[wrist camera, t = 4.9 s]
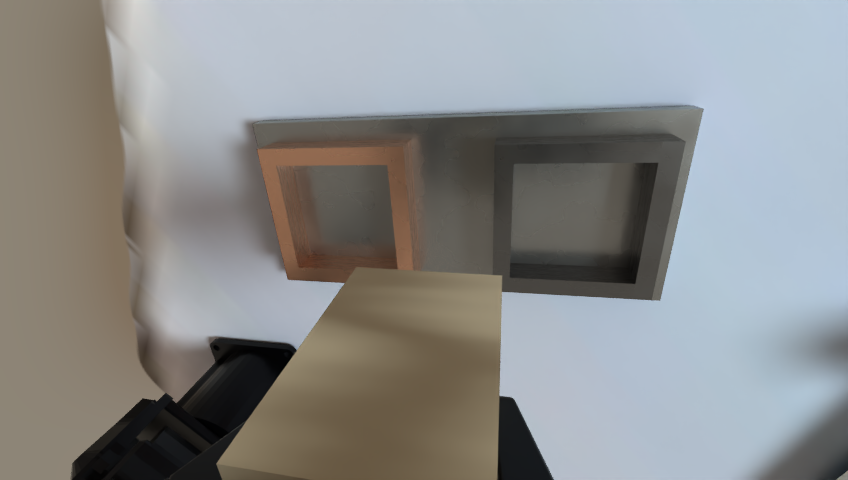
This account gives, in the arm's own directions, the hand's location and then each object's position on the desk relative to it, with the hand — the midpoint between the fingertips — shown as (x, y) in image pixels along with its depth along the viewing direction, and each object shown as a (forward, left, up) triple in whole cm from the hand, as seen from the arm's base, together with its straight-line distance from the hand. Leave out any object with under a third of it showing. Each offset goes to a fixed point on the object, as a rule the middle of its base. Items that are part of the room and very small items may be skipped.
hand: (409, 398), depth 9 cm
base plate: (0, 0, -13) cm, 13 cm away
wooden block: (0, 0, -3) cm, 2 cm away
